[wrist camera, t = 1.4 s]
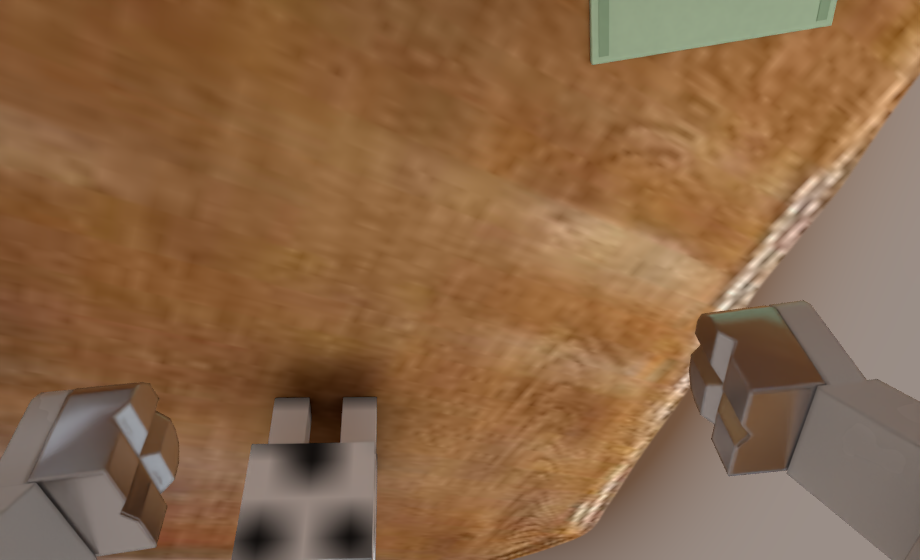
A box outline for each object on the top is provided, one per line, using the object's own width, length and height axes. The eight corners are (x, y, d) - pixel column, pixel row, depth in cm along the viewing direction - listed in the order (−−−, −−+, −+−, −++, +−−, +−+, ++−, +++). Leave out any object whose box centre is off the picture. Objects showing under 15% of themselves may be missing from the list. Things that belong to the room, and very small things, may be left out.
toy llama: (289, 488, 60) (256, 762, 46) (267, 352, 49) (213, 662, 34) (377, 486, 61) (372, 755, 46) (376, 352, 49) (369, 655, 35)
